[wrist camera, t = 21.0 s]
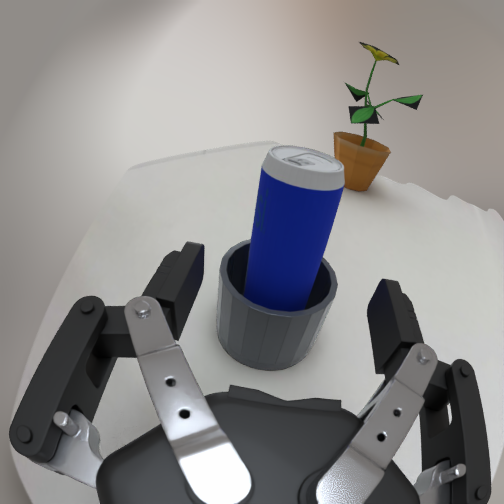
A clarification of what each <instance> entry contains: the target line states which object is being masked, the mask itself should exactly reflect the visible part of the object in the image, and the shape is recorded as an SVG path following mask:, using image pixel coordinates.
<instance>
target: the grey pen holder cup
mask: <svg viewBox="0 0 504 504" xmlns="http://www.w3.org/2000/svg"><path fill="white" fill-rule="evenodd" d="M250 243H251V239H250V240H246V241H242V242H240V243H238V244H237V245H235V246H233V247H231V248H230V249H229V250H228V252H227V253H226V254H225V255H224V256H223V258H222V261H221V265H220V270H219V286H218V302H217V334H218V338H219V340H220V343H221V344H222V346H223V348H224V349H225V350H226V351H227V353H228V354H230V355H231V356H232V357H233V358H234V359H236V360H237V361H239V362H240V363H242V364H244V365H247V366H249V367H252V368H256V369H261V370H280V369H285V368H288V367H291V366H293V365H295V364H297V363H298V362H300V361H301V360H302V359H303V358H304V357H305V356H306V355H307V354H308V353H309V351H310V349H311V347H312V345H313V344H314V342H315V340H316V338H317V336H318V334H319V331H320V329H321V327H322V325H323V323H324V321H325V318H326V316H327V314H328V312H329V309H330V307H331V305H332V303H333V300H334V298H335V295H336V291H337V286H338V284H337V279H336V275H335V272H334V270H333V269H332V267H331V266H330V264H329V263H328V262H327V261H326V260H325V259H324V258H323V257H322V260H321V263H320V266H319V269H318V272H317V275H316V278H315V281H314V284H313V287H312V290H311V293H310V295H309V298H308V301H307V304H306V307H305V309H304V310H300V311H292V312H287V311H279V310H271V309H268V308H265V307H263V306H260V305H257V304H254V303H252V302H251V301H249V300H248V299H247V298H245V297H244V296H243V292H244V285H245V278H246V271H247V264H248V257H249V250H250Z"/></svg>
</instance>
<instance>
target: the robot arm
mask: <svg viewBox="0 0 504 504" xmlns="http://www.w3.org/2000/svg"><path fill="white" fill-rule="evenodd" d="M203 275H204V244H199V243H193V242H188V241H187V242H186V244H185V245H184V247H183V249H182V251H181V252H179V251H172V252H171V253H169V254H168V255H167V256H165V258H164V259H163V261H162V262H161V264H160V266H159V267H158V269H157V271H156V273H155V274H154V275H153V277H152V279H151V280H150V282H149V284H148V285H147V287H146V289H145V291H144V292H143V294H142V296H140V297H136V298H134V299H132V300H130V301H129V302H128V303H127V305H126V306H105V305H104V302H103V301H102V300H101V299H100V298H98V297H96V296H86V297H83V298H81V299H79V300H78V301H77V302H76V303H75V304H74V305H73V307H72V308H71V310H70V312H69V313H68V315H67V316H66V318H65V320H64V321H63V323H62V325H61V326H60V328H59V330H58V331H57V333H56V335H55V337H54V338H53V340H52V342H51V344H50V345H49V347H48V349H47V351H46V353H45V354H44V356H43V358H42V360H41V362H40V364H39V366H38V368H37V370H36V372H35V374H34V375H33V377H32V379H31V382H30V384H29V386H28V388H27V390H26V392H25V394H24V396H23V398H22V400H21V403H20V405H19V407H18V409H17V412H16V414H15V416H14V419H13V421H12V424H11V426H10V430H9V438H10V442H11V444H12V446H13V448H14V449H15V450H16V451H17V452H18V453H20V454H21V455H23V456H25V457H27V458H29V459H30V460H31V461H32V462H34V463H36V464H38V465H40V466H42V467H44V468H46V469H48V470H51V471H54V472H56V473H59V474H61V475H67V476H69V477H71V478H73V479H75V480H77V481H79V482H81V483H84V484H86V485H88V486H91V487H93V488H95V489H97V493H98V497H99V501H100V504H487V503H488V501H489V498H490V495H491V471H490V458H489V448H488V440H487V432H486V426H485V419H484V414H483V408H482V403H481V398H480V394H479V389H478V385H477V381H476V377H475V373H474V370H473V368H472V366H471V365H470V364H469V363H468V362H467V361H465V360H463V359H457V360H455V361H454V362H453V363H452V364H451V365H449V364H446V363H444V362H441V361H439V360H437V356H436V353H435V352H434V350H433V349H432V348H431V347H429V346H428V345H426V344H424V341H423V337H422V334H421V331H420V327H419V324H418V321H417V320H416V319H417V317H416V314H415V313H414V308H413V305H412V302H411V301H410V299H409V298H408V297H407V295H406V294H404V293H402V291H401V288H400V285H399V282H398V281H393V280H388V279H382V280H381V281H380V282H379V284H378V286H377V288H376V290H375V292H374V294H373V296H372V298H371V300H370V302H369V304H368V309H367V317H368V323H369V329H370V336H371V342H372V349H373V357H374V364H375V372H376V374H385V379H384V380H383V382H382V383H381V384H380V386H379V387H378V389H377V390H376V392H375V393H374V394H373V396H372V397H371V399H370V400H369V401H368V403H367V404H366V405H365V407H364V408H363V409H362V410H361V412H360V413H359V414H358V415H357V416H356V415H354V414H353V413H351V412H350V411H347V410H345V409H343V408H341V400H333V399H322V398H310V399H302V400H293V401H285V400H282V399H280V398H277V397H274V396H272V395H269V394H267V393H264V392H262V391H260V390H256V389H250V388H244V387H239V386H234V385H230V387H229V392H218V393H213V394H209V395H206V396H204V395H203V393H202V391H201V389H200V387H199V385H198V383H197V381H196V379H195V377H194V375H193V373H192V371H191V369H190V367H189V364H188V362H187V360H186V358H185V356H184V354H183V351H182V349H181V347H180V346H179V345H177V344H176V343H175V340H177V341H179V338H180V336H181V333H182V331H183V328H184V326H185V323H186V321H187V318H188V316H189V313H190V311H191V308H192V306H193V303H194V301H195V299H196V296H197V294H198V291H199V289H200V286H201V284H202V280H203ZM118 357H128V358H137V359H138V362H139V365H140V368H141V371H142V374H143V377H144V380H145V383H146V386H147V389H148V391H149V394H150V397H151V399H152V402H153V405H154V407H155V410H156V412H157V415H158V417H159V420H160V422H161V424H160V425H158V426H156V427H155V428H153V429H152V430H150V431H148V432H147V433H145V434H144V435H142V436H140V437H139V438H137V439H135V440H134V441H132V442H130V443H129V444H127V445H125V446H124V447H122V448H120V449H118V450H117V451H115V452H113V453H112V454H110V455H109V456H108V457H106V458H105V459H104V460H103V458H102V457H101V454H100V451H99V443H100V436H99V432H98V430H97V429H96V427H95V426H94V425H93V424H92V421H93V419H94V416H95V413H96V410H97V408H98V405H99V402H100V400H101V397H102V395H103V392H104V389H105V387H106V384H107V382H108V379H109V377H110V374H111V372H112V370H113V367H114V365H115V362H116V360H117V358H118ZM449 403H450V406H451V413H452V421H451V424H450V425H449V417H448V409H447V405H448V404H449ZM418 414H419V416H420V430H421V451H422V473H421V474H420V475H419V476H418V478H417V481H416V483H415V484H414V485H412V484H411V483H410V481H409V480H408V479H407V478H406V476H405V475H404V474H403V473H402V471H401V470H400V469H399V467H398V466H397V465H396V464H395V462H394V461H393V460H392V458H393V456H394V455H395V453H396V452H397V450H398V449H399V447H400V445H401V444H402V442H403V440H404V439H405V437H406V435H407V434H408V432H409V430H410V428H411V427H412V425H413V423H414V421H415V419H416V417H417V416H418Z"/></svg>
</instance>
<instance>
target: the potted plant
mask: <svg viewBox="0 0 504 504" xmlns="http://www.w3.org/2000/svg"><path fill="white" fill-rule="evenodd" d="M360 44H361V45H362V46H363V47H364V48H366V49H367V50H370V51H371V53H372V54H373V56H374V58H375V63H374V66H373V68H372V71H371V74H370V77H369V81H368V84H367V87H366V92H365V91H361V90H358V89H355V88H354V87H352V86H350V85H348V84H347V83H345V84H346V86H347V87H348V89H349V90H350V92H351V94H352V95H353V97H354V99H355V100H356V102H357V101H358V100H360V99H362V98H363V97H365V106H361V107H359V106H349V113H350V120H351V123H364V136H360V135H356V134H351V133H346V132H335V133H334V153H335V158H336V159H337V160H339V161H340V162H341V163H342V164H343V166H344V179H345V185H344V187H346V188H348V189H351V190H355V191H366V190H367V189H368V187H369V186H370V184H371V183H372V181H373V180H374V178H375V176H376V175H377V173H378V172H379V170H380V168H381V167H382V165H383V164H384V162H385V160H386V159H387V157H388V156H389V154H390V153H391V152H390V150H389V148H388V147H386V146H384V145H382V144H380V143H379V142H377V141H374V140H372V139H369V138H367V126H366V125H367V124H366V123H369V124H379V121H378V117H377V114H378V115H379V116H380V114H379V113H378V112H377V111H376V108H378V107H380V106H382V105H384V104H386V103H388V102H390V101H392V100H394V101H396V102H399V103H401V104H404V105H406V106H409V107H411V108H413V109H416V110H417V107H418V105H419V103H420V100H421V98H422V96H423V95H417V96H410V97H401V98H397V99H392V100H389V101H387V102H384V103H382V104H379V105H377V106H375V107H374V106H372V105H371V102H370V98H369V95H368V94H369V93H368V87H369V84H370V80H371V77H372V74H373V71H374V67H375V64H376V61H380V60H388V61H391V62H393V63H396V64H398V65H399V63H398V61H397V60H396V59H395V58H393V57H392V56H390V55H388V54H387V53H385V52H383V51H381V50H380V49H378V48H376V47H374V46H371V45H368V44H364V43H361V42H360ZM367 95H368V99H369V102H368V101H367ZM367 102H368V103H369V105H367ZM380 117H381V116H380ZM381 118H382V117H381Z"/></svg>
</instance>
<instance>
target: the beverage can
mask: <svg viewBox="0 0 504 504" xmlns="http://www.w3.org/2000/svg"><path fill="white" fill-rule="evenodd" d="M344 185H345V179H344V166H343V164H342V163H341V162H340V161H339V160H337V159H336V158H334V157H332V156H330V155H327V154H325V153H323V152H320V151H316V150H313V149H309V148H304V147H297V146H276V147H272V148H271V149H270V150H269V152H268V154H267V156H266V158H265V160H264V162H263V164H262V168H261V175H260V182H259V188H258V195H257V202H256V209H255V216H254V223H253V229H252V236H251V243H250V250H249V257H248V264H247V271H246V278H245V285H244V292H243V296H244V297H245V298H247V299H248V300H249V301H251V302H252V303H254V304H257V305H260V306H263V307H265V308H268V309H271V310H279V311H287V312H292V311H300V310H304V309H305V307H306V304H307V301H308V298H309V295H310V293H311V290H312V287H313V284H314V281H315V278H316V275H317V272H318V269H319V266H320V263H321V260H322V257H323V254H324V251H325V248H326V245H327V242H328V239H329V235H330V232H331V229H332V226H333V222H334V219H335V216H336V212H337V209H338V206H339V202H340V199H341V195H342V192H343V188H344Z"/></svg>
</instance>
